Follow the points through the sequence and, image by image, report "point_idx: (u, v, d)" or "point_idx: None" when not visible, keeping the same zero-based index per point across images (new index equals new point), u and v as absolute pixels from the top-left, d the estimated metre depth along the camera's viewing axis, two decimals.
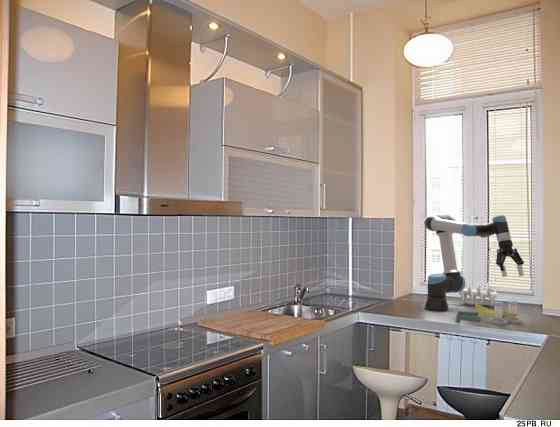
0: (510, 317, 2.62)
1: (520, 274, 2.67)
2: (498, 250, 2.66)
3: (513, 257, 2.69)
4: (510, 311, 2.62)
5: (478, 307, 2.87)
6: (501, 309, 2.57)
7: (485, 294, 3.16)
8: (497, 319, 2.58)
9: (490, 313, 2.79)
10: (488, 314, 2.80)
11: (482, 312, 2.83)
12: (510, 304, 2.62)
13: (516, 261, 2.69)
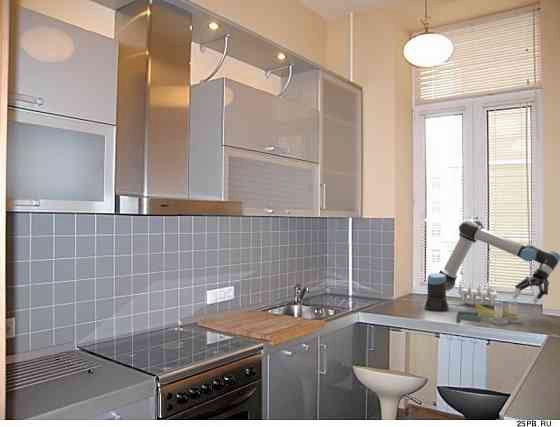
0: (510, 317, 2.62)
1: (515, 296, 2.72)
2: (547, 281, 2.63)
3: (528, 285, 2.72)
4: (510, 311, 2.62)
5: (478, 307, 2.88)
6: (501, 309, 2.57)
7: (485, 294, 3.16)
8: (497, 319, 2.58)
9: (490, 313, 2.80)
10: (488, 314, 2.80)
11: (482, 312, 2.84)
12: (510, 304, 2.62)
13: (523, 287, 2.73)
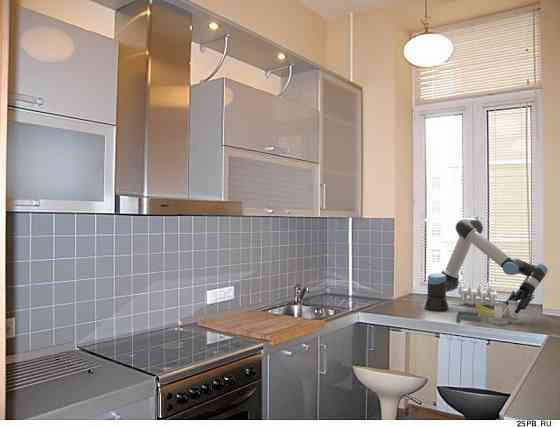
0: (510, 317, 2.62)
1: (505, 313, 2.64)
2: (531, 297, 2.60)
3: (517, 299, 2.67)
4: (510, 311, 2.62)
5: (478, 307, 2.89)
6: (501, 309, 2.57)
7: (485, 294, 3.16)
8: (497, 319, 2.58)
9: (489, 313, 2.80)
10: (487, 314, 2.81)
11: (482, 312, 2.84)
12: (510, 304, 2.62)
13: None
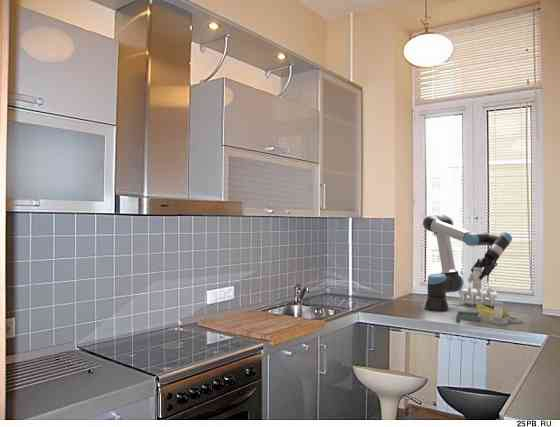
0: (474, 283, 2.69)
1: (470, 280, 2.70)
2: (495, 263, 2.66)
3: (481, 266, 2.73)
4: (474, 277, 2.69)
5: (479, 306, 2.90)
6: (501, 309, 2.57)
7: (485, 294, 3.16)
8: (497, 319, 2.58)
9: (489, 312, 2.81)
10: (487, 313, 2.81)
11: (482, 311, 2.85)
12: (475, 271, 2.68)
13: None
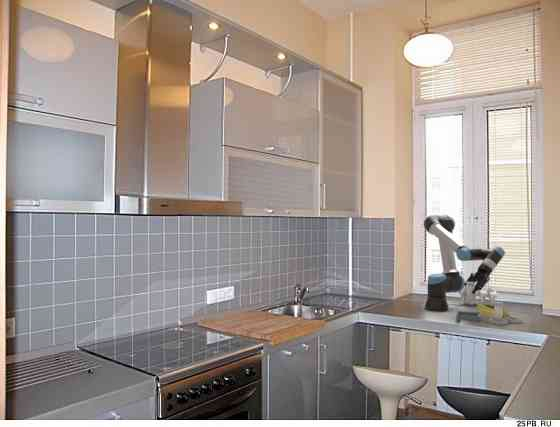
0: (467, 298, 2.70)
1: (463, 294, 2.72)
2: (488, 278, 2.68)
3: (474, 280, 2.74)
4: (467, 292, 2.70)
5: (480, 306, 2.90)
6: (501, 309, 2.57)
7: (485, 294, 3.16)
8: (497, 319, 2.58)
9: (489, 312, 2.81)
10: (487, 313, 2.82)
11: (482, 311, 2.86)
12: (467, 285, 2.70)
13: None
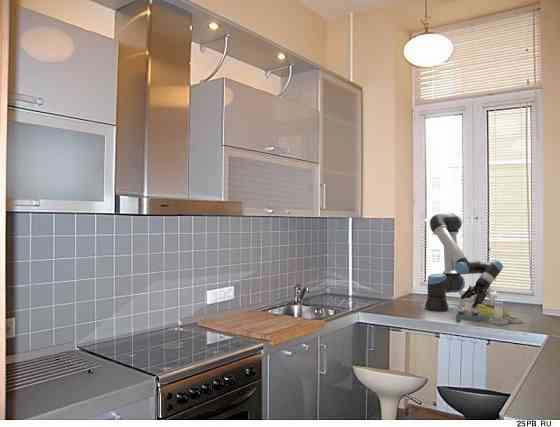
0: (465, 314, 2.71)
1: (459, 307, 2.74)
2: (486, 291, 2.69)
3: (472, 294, 2.76)
4: (466, 308, 2.71)
5: (480, 306, 2.90)
6: (501, 309, 2.57)
7: None
8: (497, 319, 2.58)
9: (489, 312, 2.82)
10: (487, 313, 2.82)
11: (482, 311, 2.86)
12: (466, 301, 2.71)
13: (467, 297, 2.76)
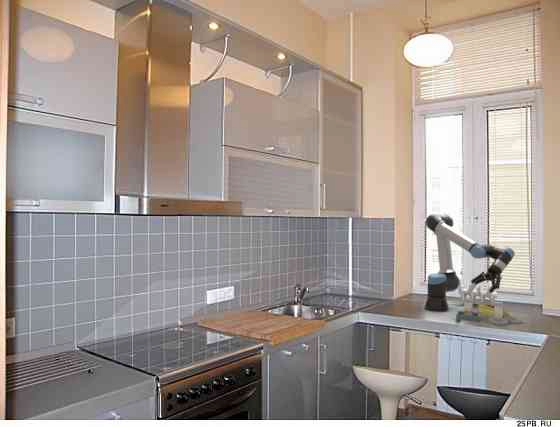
0: (465, 314, 2.71)
1: (469, 290, 2.81)
2: (500, 276, 2.72)
3: (483, 279, 2.81)
4: (465, 308, 2.71)
5: (480, 306, 2.91)
6: (501, 309, 2.57)
7: None
8: (497, 319, 2.58)
9: (489, 312, 2.82)
10: (487, 313, 2.83)
11: (483, 311, 2.87)
12: (465, 301, 2.71)
13: (478, 281, 2.82)
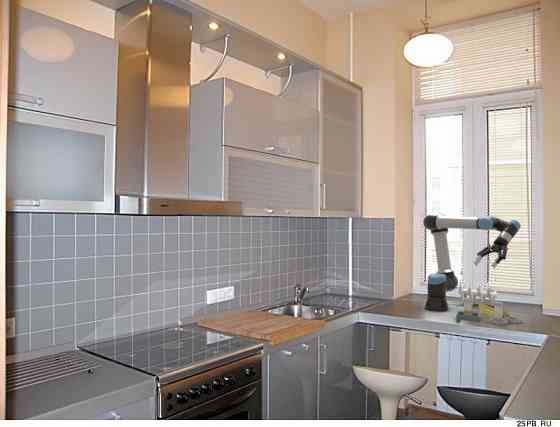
0: (465, 314, 2.71)
1: (476, 263, 2.81)
2: (506, 248, 2.72)
3: (489, 252, 2.81)
4: (465, 308, 2.71)
5: (481, 306, 2.91)
6: (501, 309, 2.57)
7: (485, 294, 3.16)
8: (497, 319, 2.58)
9: (489, 312, 2.82)
10: (487, 313, 2.83)
11: (483, 311, 2.87)
12: (465, 301, 2.71)
13: (484, 254, 2.82)
